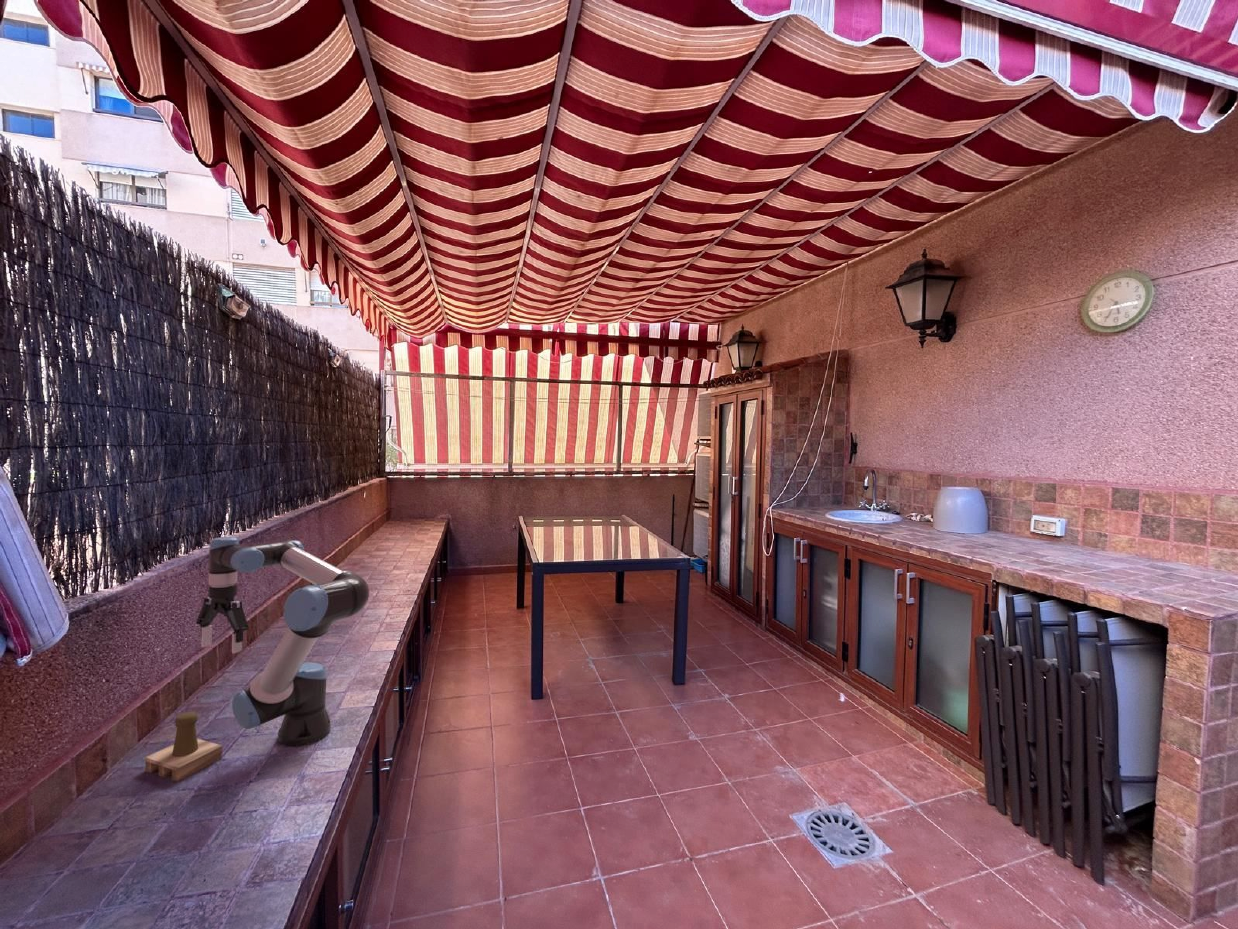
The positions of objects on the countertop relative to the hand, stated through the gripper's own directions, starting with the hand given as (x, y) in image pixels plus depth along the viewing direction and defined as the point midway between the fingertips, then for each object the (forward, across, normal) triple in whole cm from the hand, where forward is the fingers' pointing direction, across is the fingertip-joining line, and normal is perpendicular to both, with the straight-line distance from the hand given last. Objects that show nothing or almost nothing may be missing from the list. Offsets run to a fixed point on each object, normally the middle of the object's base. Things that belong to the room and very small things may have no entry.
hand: (221, 649), depth 169 cm
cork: (+25, -7, +15) cm, 30 cm away
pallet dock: (+29, -7, +15) cm, 33 cm away
